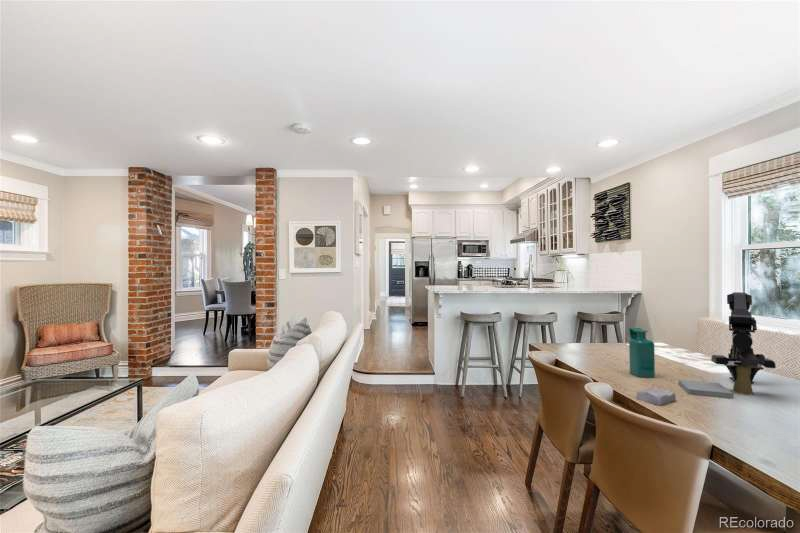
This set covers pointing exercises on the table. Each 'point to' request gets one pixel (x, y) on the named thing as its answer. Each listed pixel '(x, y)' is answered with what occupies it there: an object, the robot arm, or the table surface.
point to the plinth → (705, 388)
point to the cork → (743, 380)
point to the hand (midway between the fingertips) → (742, 382)
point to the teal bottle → (641, 354)
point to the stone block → (656, 396)
